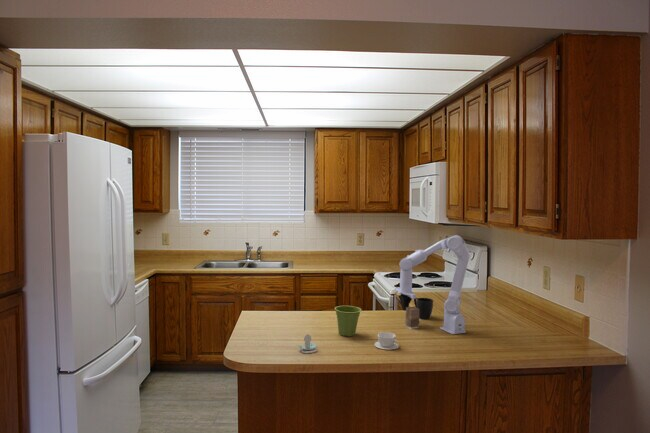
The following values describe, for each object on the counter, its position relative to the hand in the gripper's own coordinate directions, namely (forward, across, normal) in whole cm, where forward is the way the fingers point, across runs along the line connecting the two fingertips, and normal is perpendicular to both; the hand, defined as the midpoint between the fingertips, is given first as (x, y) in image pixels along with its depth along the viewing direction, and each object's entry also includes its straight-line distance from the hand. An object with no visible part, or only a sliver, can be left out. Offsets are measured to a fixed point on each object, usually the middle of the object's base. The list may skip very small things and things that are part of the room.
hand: (405, 310), depth 202 cm
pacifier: (+7, +20, -58) cm, 61 cm away
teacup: (+7, +25, -25) cm, 36 cm away
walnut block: (+6, +6, 0) cm, 9 cm away
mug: (+7, -7, +15) cm, 18 cm away
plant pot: (+7, +6, -34) cm, 35 cm away
